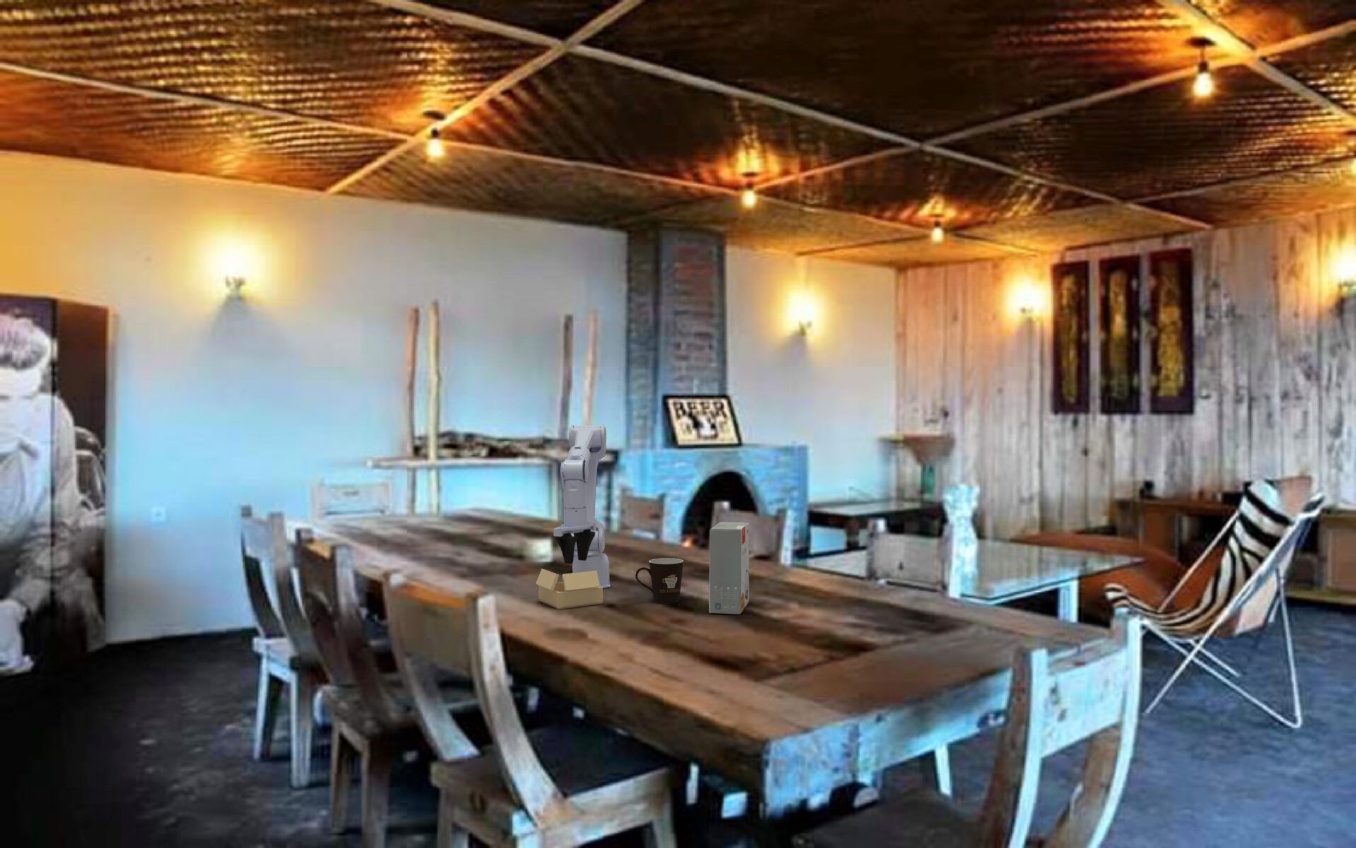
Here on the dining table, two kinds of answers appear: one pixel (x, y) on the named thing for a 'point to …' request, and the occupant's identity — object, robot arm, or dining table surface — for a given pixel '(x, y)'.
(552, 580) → the flap far
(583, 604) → the carton
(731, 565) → the hard drive box
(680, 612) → the dining table surface
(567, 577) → the flap left
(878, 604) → the dining table surface
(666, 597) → the coffee mug
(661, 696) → the dining table surface
